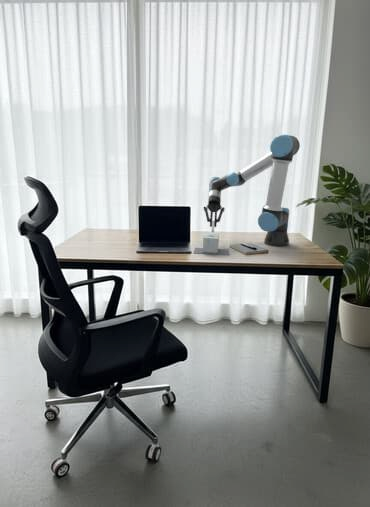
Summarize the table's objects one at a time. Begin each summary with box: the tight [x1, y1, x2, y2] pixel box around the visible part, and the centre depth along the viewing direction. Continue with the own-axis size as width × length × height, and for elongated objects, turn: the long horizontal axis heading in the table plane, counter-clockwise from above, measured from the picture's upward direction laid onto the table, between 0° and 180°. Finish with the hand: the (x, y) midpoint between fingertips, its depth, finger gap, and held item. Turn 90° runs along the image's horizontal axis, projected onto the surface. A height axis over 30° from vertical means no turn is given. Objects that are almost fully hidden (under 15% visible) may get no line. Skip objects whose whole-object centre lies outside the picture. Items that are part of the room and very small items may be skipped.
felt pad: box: [193, 247, 231, 256], centre depth 210 cm, size 20×12×1 cm, turn 84°
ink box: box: [202, 233, 220, 253], centre depth 210 cm, size 9×9×12 cm
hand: (212, 231), depth 216 cm, fingers closed
